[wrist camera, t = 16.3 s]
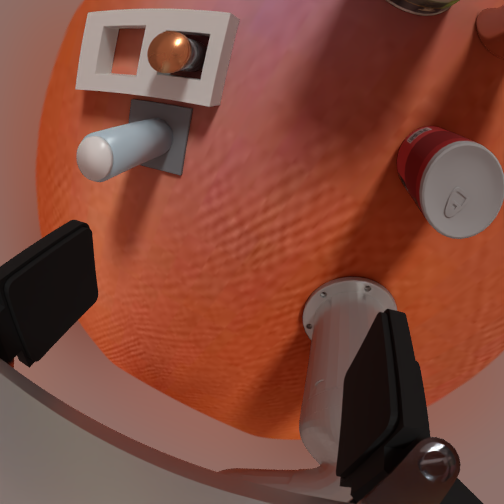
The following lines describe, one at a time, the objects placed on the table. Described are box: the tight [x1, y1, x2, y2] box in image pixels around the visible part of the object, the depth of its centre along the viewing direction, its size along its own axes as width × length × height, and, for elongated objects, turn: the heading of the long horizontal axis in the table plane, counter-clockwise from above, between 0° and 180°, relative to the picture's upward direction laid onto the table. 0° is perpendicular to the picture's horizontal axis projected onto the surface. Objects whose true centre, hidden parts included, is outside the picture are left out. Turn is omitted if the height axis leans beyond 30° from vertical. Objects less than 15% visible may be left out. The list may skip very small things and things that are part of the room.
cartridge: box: [77, 118, 173, 182], centre depth 30 cm, size 5×5×12 cm
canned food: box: [397, 126, 504, 239], centre depth 25 cm, size 8×8×11 cm
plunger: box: [147, 31, 207, 73], centre depth 27 cm, size 4×4×6 cm
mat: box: [128, 99, 193, 175], centre depth 35 cm, size 8×8×1 cm
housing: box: [76, 9, 240, 107], centre depth 29 cm, size 10×18×3 cm, turn 76°
